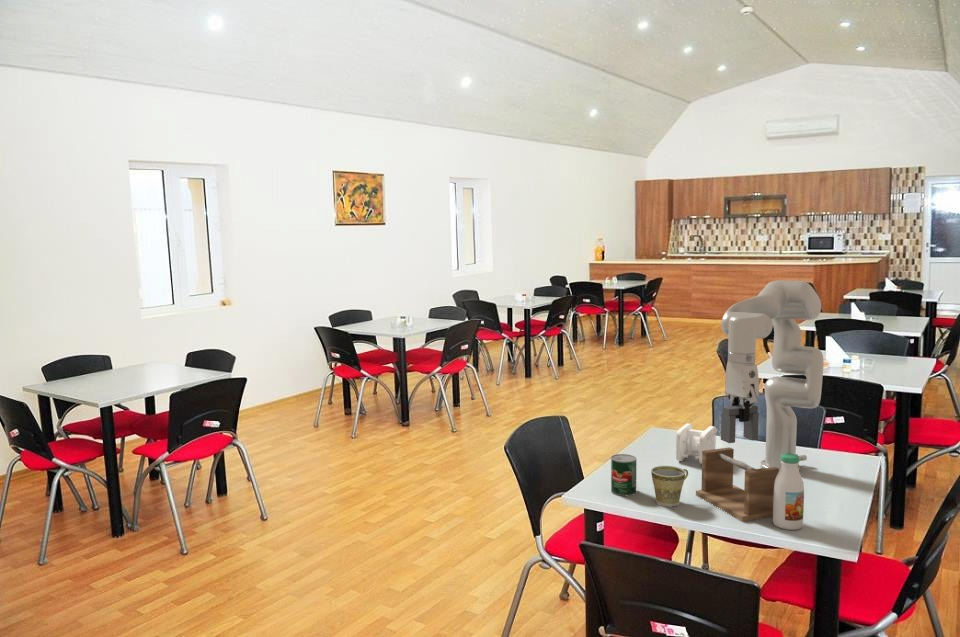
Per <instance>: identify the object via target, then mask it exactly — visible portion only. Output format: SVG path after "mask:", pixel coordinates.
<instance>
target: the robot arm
mask: <svg viewBox="0 0 960 637" xmlns="http://www.w3.org/2000/svg"><path fill="white" fill-rule="evenodd" d="M821 310H822V302H821V299H820V297H819V295H818V293H817V292H816V291H815V289H814V288H813V287H812V285H811V284H809V282H806V281H803V280H788V279H787V280H786V279H785V280H784V279H783V280H773V281H769V282H768V283H767V284H766V285H765V286H764V288H762V290H761V291H760V292H759V293H758V294H757V296H754V297H750V298H747V299H744V300H741V301H738V302H736V303H734V304H732V305H730V306H729V307H728V309H727V310H726V311H725V312H724V314H723V316H722V318H721V322H720V328H721V331H722V333H723V334H724V335H726V336H727V337H728V342H727V346H728V347H727V361H726V362H727V363H726V368H725V369H726V370H725V374H724V375H725V379H724V394H725V395H726V396H727V397H728V400H729V406H736V405H741V408H739V415H735V416H736V419H738V421H739V422H740V423H744V422H746V421H749V414H750V408H751V406H752V404H753V405H755V404H756V403H758V397H759V396H760V380H759V371H758V366H757V364H756V348H757V346H756V343H757V339H758V340H760V339H765V338H768V336H769V335H770V334H771V333H772V331H773V332H774V333H773V335H774V336H773V346H772V357H771V361H772V362H771V365H772V368H773V369H774V371H776V372H779V373H781V374H782V373H784V374H791V375H792V374H793V375H801V376H802V375H803V376H805V377H806V379H804V378H797V377H796V378H795V377H790V376H789V377H788V376H772V377H770V378H768V379H767V380H766V382H765V383H764V396H765V403H766V404H765V406H766V428H765V430H766V431H765V434H766V435H765V459H763V460H761V462H760V467H761V468H767V467H776V468H779V471H780V469H781V465H782V463H781V455H782V454H785V453H790V454H795V455H798V454H797V451H796V450H797V425H798V421H797V420H798V419H797V416H796V414H795V412H794V410H793V408H792V407H796V408H803V409H816V408H817V407H818V406H820V403H821V398H822V397H821V396H822V388H823V375H824V364H825V363H824V360H825V359H824V355H823V352H822V350H821V349H819V348H817V347H814V346H806V345H805V346H803V345H802V329H801V328H800V326H799V324H798V323H797V321H796V320H805V321H806V320H807V321H808V320H810V321H812V320H815V319H817V318H818V317H819V316H820V314H821ZM798 456H799V462H804V461H807V459H808V457H807V455H806V454H801V455H798ZM798 470H799V471H800V470H801V465H800V463H799V464H798Z"/></svg>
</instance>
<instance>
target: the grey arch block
mask: <svg viewBox="0 0 960 637" xmlns="http://www.w3.org/2000/svg"><path fill="white" fill-rule="evenodd" d="M758 407H759V406H758V405H755V404H752V406H751V408H750V414H749V421H746V422H743V438H745V439H747V440H750V441H757V440H758V441H759V416H760V414H759V411H758V409H759V408H758ZM739 408H741V404H739V405H736V406H731V405H729V406H728V405H727V406H722V412H721V413H720V419H721V420H720V441H722V442H725V443H728V444H734V443H736V428H737V427H736V422H737V421H736V416H735V415H739Z"/></svg>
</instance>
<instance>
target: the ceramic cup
mask: <svg viewBox="0 0 960 637" xmlns="http://www.w3.org/2000/svg"><path fill="white" fill-rule="evenodd" d="M650 473H651V479H652V484H653V489H654V493H655V494H654V495H655V501H656V504H657V503H658V504H657V505H659V504H660V505H659V506H661V505H662V506H661V507H665V506H674V507H677V506H676V505H678V506H679V505H680V499H681V495H682V490H683V486H684V482H685V480H686V479H687V478H688V476H689V471H688V469H686V468H680V467H678V466H674V465H658V466H654V467H652V468H651V469H650Z"/></svg>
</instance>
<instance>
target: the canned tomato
mask: <svg viewBox="0 0 960 637" xmlns="http://www.w3.org/2000/svg"><path fill="white" fill-rule="evenodd" d="M610 463H611V464H610V465H611V466H610V469H611V470H610V483H611V484H610V486H611V487H610V489H611V491H610V492H611V493H612V494H614V495H616V494H617V495H616V496H620V495H623V496H622V497H627V496H626V495H631V496H634V495H636V494H635V493H637V457H636V456H635V455H631V454H625V453H617V454H614V455H612V456H610Z"/></svg>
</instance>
